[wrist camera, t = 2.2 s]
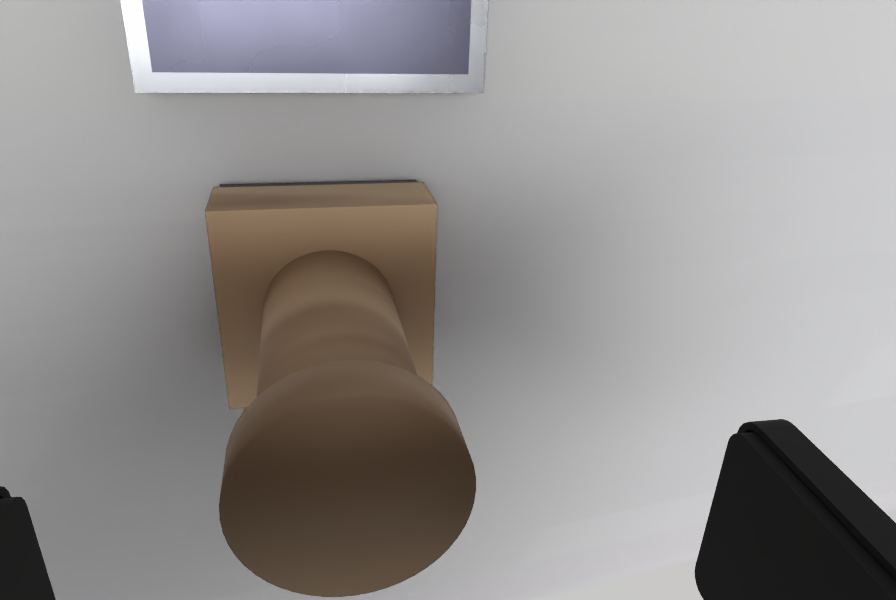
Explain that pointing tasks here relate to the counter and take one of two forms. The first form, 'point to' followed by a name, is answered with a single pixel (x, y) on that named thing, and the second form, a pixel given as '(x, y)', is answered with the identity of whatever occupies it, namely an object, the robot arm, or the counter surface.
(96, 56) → the counter surface
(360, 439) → the stamp
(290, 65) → the ink pad
